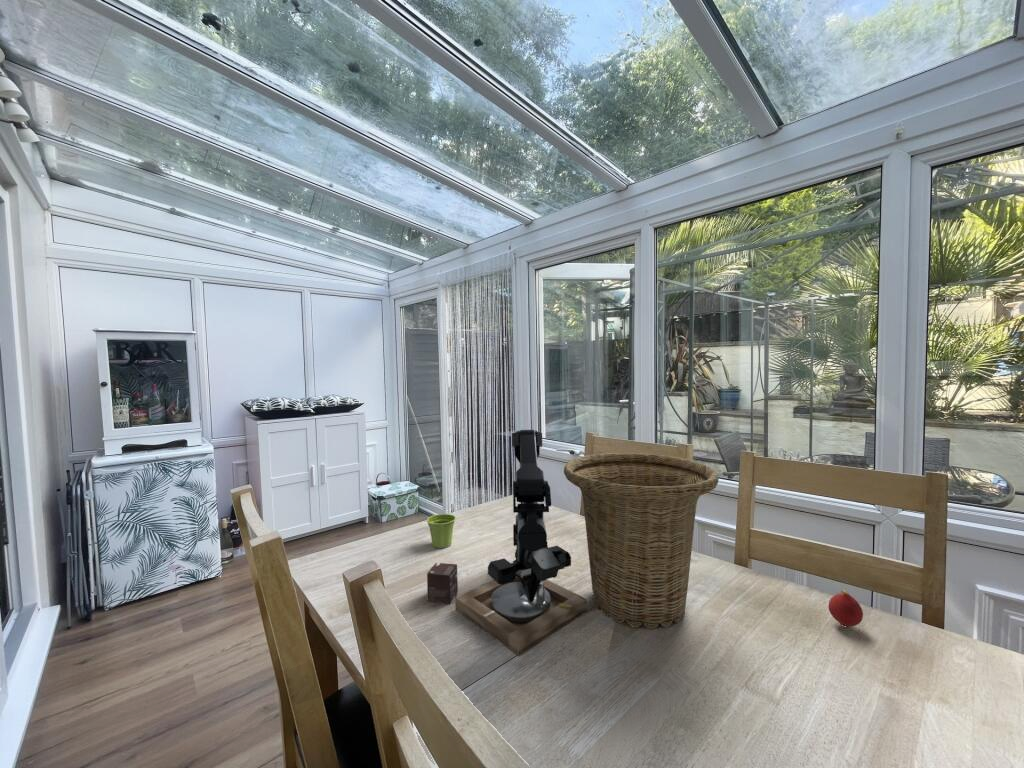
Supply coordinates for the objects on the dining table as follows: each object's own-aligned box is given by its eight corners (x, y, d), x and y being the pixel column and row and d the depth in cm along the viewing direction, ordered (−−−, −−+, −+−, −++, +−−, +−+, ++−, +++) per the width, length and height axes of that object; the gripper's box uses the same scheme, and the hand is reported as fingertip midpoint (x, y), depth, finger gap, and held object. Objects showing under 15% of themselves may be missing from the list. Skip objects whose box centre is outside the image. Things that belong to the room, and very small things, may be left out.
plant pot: (424, 542, 139) (423, 516, 138) (451, 536, 143) (451, 511, 142) (431, 553, 130) (430, 525, 130) (460, 547, 134) (459, 520, 134)
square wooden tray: (522, 577, 114) (522, 566, 114) (587, 611, 98) (587, 597, 97) (455, 610, 99) (455, 596, 99) (518, 656, 83) (518, 640, 83)
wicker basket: (593, 558, 125) (592, 448, 124) (724, 588, 107) (724, 459, 106) (540, 618, 95) (538, 474, 94) (709, 674, 77) (709, 497, 76)
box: (450, 605, 101) (449, 575, 101) (426, 602, 103) (426, 573, 102) (458, 591, 107) (457, 563, 107) (436, 589, 109) (435, 562, 108)
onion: (855, 621, 92) (855, 586, 92) (867, 637, 87) (868, 599, 87) (824, 616, 94) (824, 582, 94) (834, 632, 89) (835, 595, 89)
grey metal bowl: (478, 609, 97) (478, 579, 97) (514, 584, 108) (514, 557, 108) (528, 631, 89) (527, 599, 88) (561, 601, 100) (561, 573, 99)
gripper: (511, 554, 81) (511, 633, 81) (586, 536, 90) (586, 607, 91) (486, 535, 91) (486, 606, 91) (557, 520, 100) (556, 585, 100)
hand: (530, 601), depth 93 cm, fingers closed
